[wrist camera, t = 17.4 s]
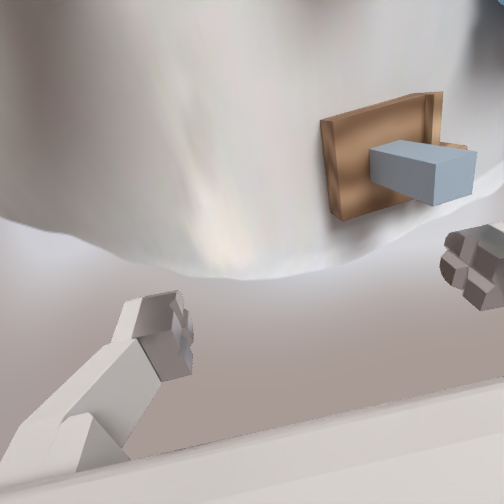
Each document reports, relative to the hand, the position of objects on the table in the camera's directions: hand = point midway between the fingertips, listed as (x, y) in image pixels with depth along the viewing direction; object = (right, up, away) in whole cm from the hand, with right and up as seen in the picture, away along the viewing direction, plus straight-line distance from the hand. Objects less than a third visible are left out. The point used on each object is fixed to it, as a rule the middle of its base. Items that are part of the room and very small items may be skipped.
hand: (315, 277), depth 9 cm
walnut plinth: (+16, +15, +35) cm, 41 cm away
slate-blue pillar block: (+17, +13, +32) cm, 38 cm away
